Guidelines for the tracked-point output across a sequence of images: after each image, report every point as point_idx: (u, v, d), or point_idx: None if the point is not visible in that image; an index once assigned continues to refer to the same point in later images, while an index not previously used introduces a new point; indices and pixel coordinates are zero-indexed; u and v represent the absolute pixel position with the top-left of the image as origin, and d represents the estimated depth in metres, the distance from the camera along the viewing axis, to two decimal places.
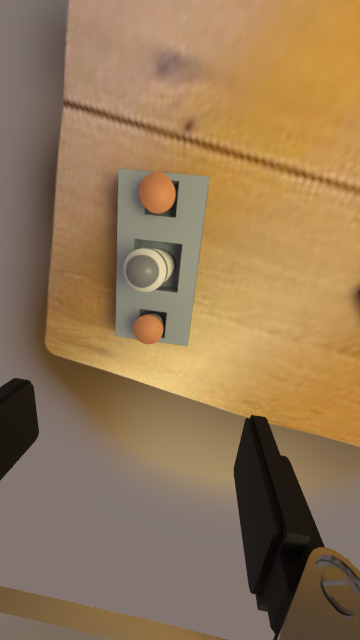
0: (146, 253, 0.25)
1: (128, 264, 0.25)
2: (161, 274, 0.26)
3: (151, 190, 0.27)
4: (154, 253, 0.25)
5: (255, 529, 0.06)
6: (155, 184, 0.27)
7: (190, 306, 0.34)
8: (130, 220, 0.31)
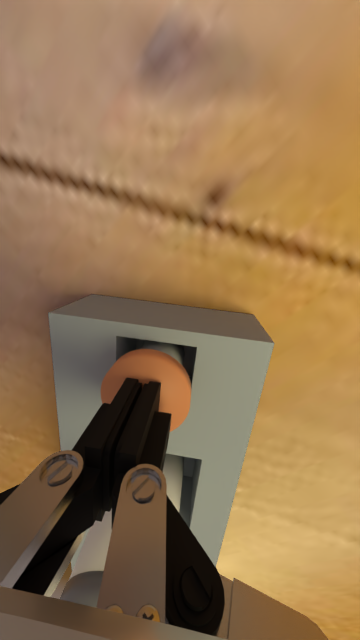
0: None
1: None
2: None
3: None
4: None
5: None
6: None
7: (215, 551, 0.17)
8: (86, 410, 0.14)
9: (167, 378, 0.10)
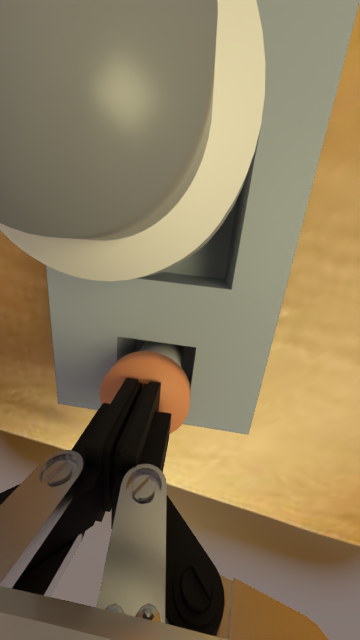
0: None
1: None
2: (229, 136, 0.03)
3: None
4: None
5: None
6: None
7: (269, 331, 0.11)
8: None
9: None
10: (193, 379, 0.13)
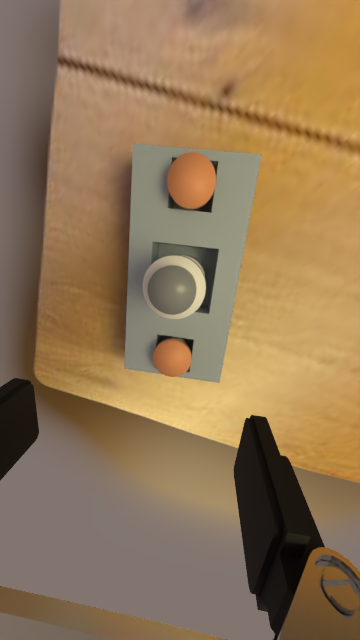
0: (178, 263, 0.17)
1: (151, 279, 0.16)
2: (199, 294, 0.17)
3: (183, 177, 0.20)
4: (190, 263, 0.17)
5: (255, 529, 0.06)
6: (190, 169, 0.20)
7: (226, 332, 0.25)
8: (148, 216, 0.23)
9: (204, 164, 0.20)
10: (192, 354, 0.27)
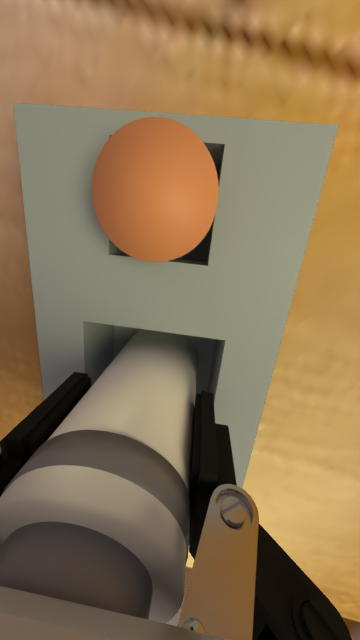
0: (79, 519, 0.05)
1: None
2: (164, 598, 0.05)
3: (133, 188, 0.08)
4: (124, 524, 0.04)
5: None
6: (148, 165, 0.07)
7: (238, 483, 0.13)
8: (69, 271, 0.10)
9: (187, 151, 0.07)
10: None
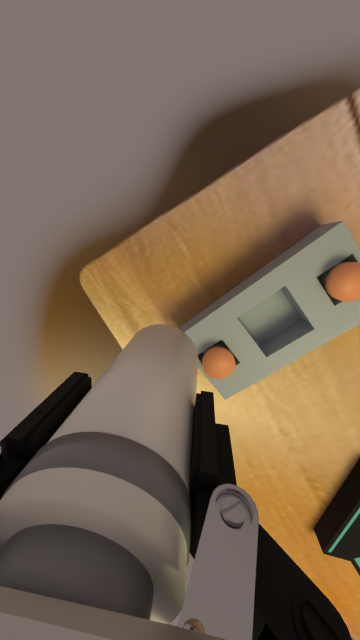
0: (81, 521, 0.04)
1: None
2: (165, 601, 0.05)
3: (349, 276, 0.25)
4: (125, 527, 0.04)
5: None
6: (358, 276, 0.25)
7: (263, 375, 0.31)
8: (300, 269, 0.26)
9: None
10: None
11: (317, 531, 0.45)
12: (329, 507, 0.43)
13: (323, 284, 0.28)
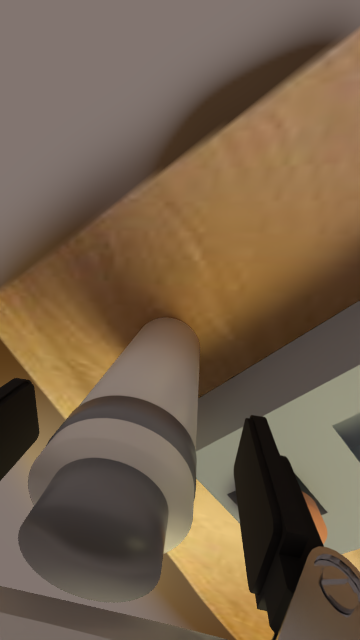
0: (114, 454, 0.06)
1: (26, 529, 0.05)
2: (177, 522, 0.06)
3: None
4: (148, 457, 0.06)
5: (254, 528, 0.06)
6: None
7: None
8: None
9: None
10: None
11: None
12: None
13: None
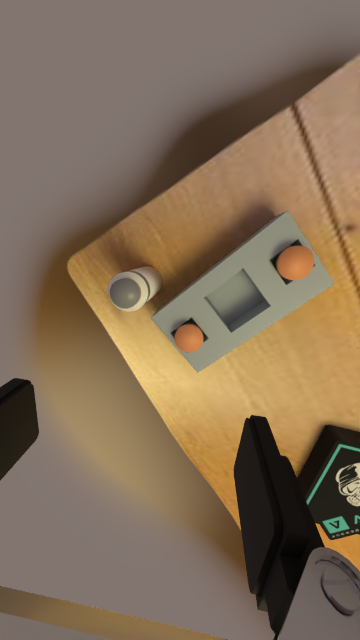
0: (129, 276, 0.27)
1: (111, 287, 0.27)
2: (143, 295, 0.28)
3: (294, 258, 0.29)
4: (136, 276, 0.27)
5: (255, 529, 0.06)
6: (301, 257, 0.29)
7: (229, 349, 0.35)
8: (255, 253, 0.31)
9: (309, 262, 0.29)
10: None
11: None
12: (300, 476, 0.47)
13: None
